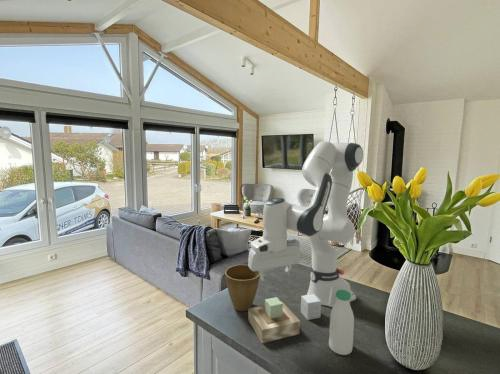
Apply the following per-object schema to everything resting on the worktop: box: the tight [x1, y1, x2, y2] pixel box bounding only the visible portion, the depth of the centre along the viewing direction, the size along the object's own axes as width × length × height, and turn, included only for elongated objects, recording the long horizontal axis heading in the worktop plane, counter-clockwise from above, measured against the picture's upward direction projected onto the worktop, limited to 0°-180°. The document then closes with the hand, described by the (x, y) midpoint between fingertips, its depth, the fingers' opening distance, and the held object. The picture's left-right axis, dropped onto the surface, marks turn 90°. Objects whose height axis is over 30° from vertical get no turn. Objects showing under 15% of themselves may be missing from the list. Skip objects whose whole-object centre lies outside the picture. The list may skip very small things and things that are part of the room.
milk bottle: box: [328, 290, 355, 356], centre depth 92 cm, size 8×8×20 cm
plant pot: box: [224, 264, 261, 312], centre depth 116 cm, size 15×15×16 cm
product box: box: [300, 294, 322, 321], centre depth 112 cm, size 6×6×7 cm
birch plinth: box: [247, 301, 301, 344], centre depth 104 cm, size 15×14×5 cm
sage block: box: [264, 296, 283, 319], centre depth 103 cm, size 5×5×5 cm
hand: (274, 277), depth 102 cm, fingers open, 8 cm apart
